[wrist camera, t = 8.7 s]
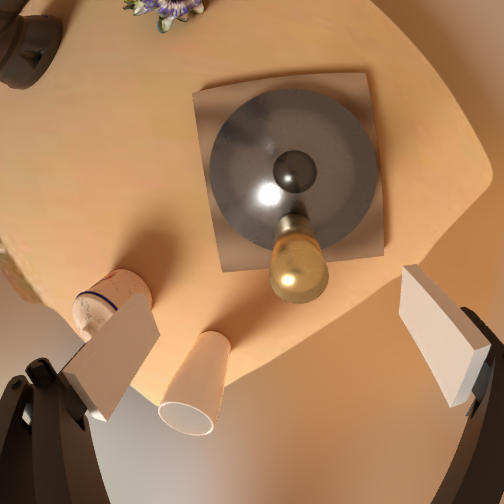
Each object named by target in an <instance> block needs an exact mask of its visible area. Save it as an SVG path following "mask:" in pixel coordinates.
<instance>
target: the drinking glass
mask: <svg viewBox="0 0 504 504" xmlns="http://www.w3.org/2000/svg"><path fill="white" fill-rule="evenodd" d="M230 352H231V345H230V342H229V341H228V339H227V338H226V337H225V336H224V335H222V334H220V333H218V332H214V331H207V332H204V333H202V334H200V335H199V336H198V338H197V339H196V341H195V343H194V345H193V347H192V349H191V350H190V352H189V353H188V355H187V356H186V358H185V360H184V361H183V363H182V364H181V366H180V367H179V369H178V370H177V372H176V373H175V375H174V377H173V378H172V380H171V381H170V383H169V385H168V387H167V389H166V391H165V393H164V395H163V397H162V400H161V402H160V405H159V407H158V413H159V415H160V417H161V419H162V420H163V421H164V422H165V423H166V424H167V425H169V426H170V427H172V428H174V429H175V430H177V431H180V432H182V433H185V434H190V435H205V434H208V433H210V432H212V431H213V429H214V427H215V424H216V421H217V418H218V415H219V411H220V408H221V403H222V398H223V392H224V385H225V378H226V372H227V365H228V359H229V355H230Z"/></svg>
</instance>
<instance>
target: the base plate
mask: <svg viewBox="0 0 504 504" xmlns="http://www.w3.org/2000/svg"><path fill="white" fill-rule="evenodd" d="M280 89H303V90H308V91H313V92H317V93H319V94H322V95H325V96H327V97H329V98H331V99H333V100H335V101H337V102H338V103H340V104H341V105H342V106H344V107H345V108H346V109H348V110H349V111H350V112H351V113H352V114H353V115H354V116H355V117H356V118H357V120H358V121H359V122H360V123H361V125H362V126H363V128H364V129H365V131H366V132H367V134H368V136H369V139H370V141H371V143H372V146H373V149H374V152H375V157H376V163H377V183H376V189H375V193H374V197H373V200H372V202H371V205H370V207H369V209H368V211H367V213H366V215H365V216H364V218H363V219H362V221H361V222H360V223H359V225H358V226H357V227H356V228H355V229H354V230H353V231H352V232H351V233H350V234H348V235H347V236H346V237H345V238H343V239H342V240H340V241H339V242H337V243H335V244H334V245H331V246H329V247H327V248H325V249H321V252H322V255H323V257H324V260H325V262H334V261H343V260H352V259H361V258H370V257H378V256H384V216H383V194H382V180H381V168H380V158H379V149H378V141H377V134H376V127H375V120H374V114H373V108H372V102H371V97H370V92H369V87H368V82H367V78H366V73H321V74H305V75H293V76H283V77H275V78H267V79H260V80H253V81H247V82H241V83H236V84H231V85H226V86H221V87H216V88H211V89H207V90H203V91H199V92H195V93H192V95H193V103H194V110H195V117H196V124H197V130H198V137H199V143H200V150H201V156H202V162H203V169H204V175H205V181H206V186H207V192H208V198H209V204H210V209H211V215H212V221H213V226H214V231H215V237H216V242H217V247H218V253H219V258H220V263H221V268H222V272H232V271H243V270H254V269H265V268H271V262H272V255H273V251H271V250H268V249H265V248H263V247H260V246H258V245H256V244H254V243H252V242H251V241H249V240H248V239H246V238H245V237H243V236H242V235H241V234H240V233H238V232H237V231H236V230H235V229H234V228H233V227H232V226H231V225H230V224H229V222H228V221H227V220H226V218H225V217H224V216H223V214H222V213H221V211H220V209H219V207H218V205H217V203H216V200H215V198H214V195H213V192H212V188H211V183H210V174H209V168H210V157H211V151H212V148H213V144H214V141H215V139H216V137H217V135H218V132H219V130H220V129H221V127H222V126H223V124H224V123H225V121H226V120H227V119H228V118H229V116H230V115H231V114H232V113H233V112H234V111H235V110H236V109H238V108H239V107H240V106H241V105H243V104H244V103H246V102H247V101H249V100H250V99H252V98H254V97H256V96H258V95H261V94H264V93H267V92H270V91H275V90H280Z"/></svg>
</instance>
